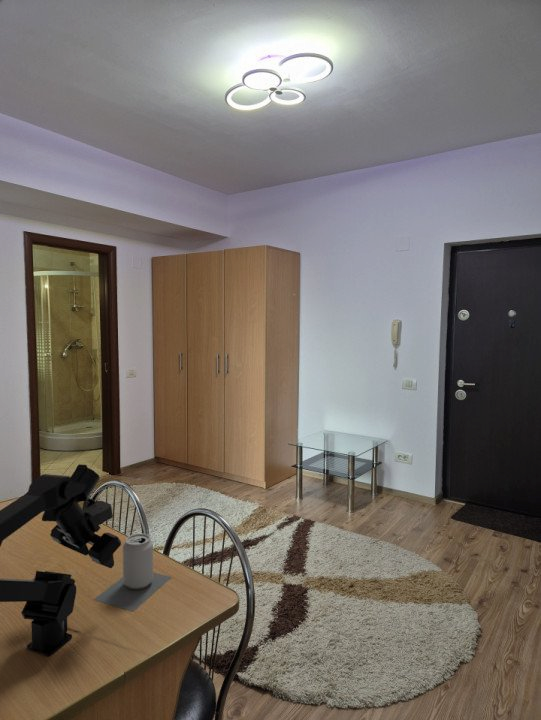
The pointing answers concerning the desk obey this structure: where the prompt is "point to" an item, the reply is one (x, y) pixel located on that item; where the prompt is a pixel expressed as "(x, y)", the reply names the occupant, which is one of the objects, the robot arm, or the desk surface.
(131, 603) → the mat
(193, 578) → the desk surface
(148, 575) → the can
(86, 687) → the desk surface
